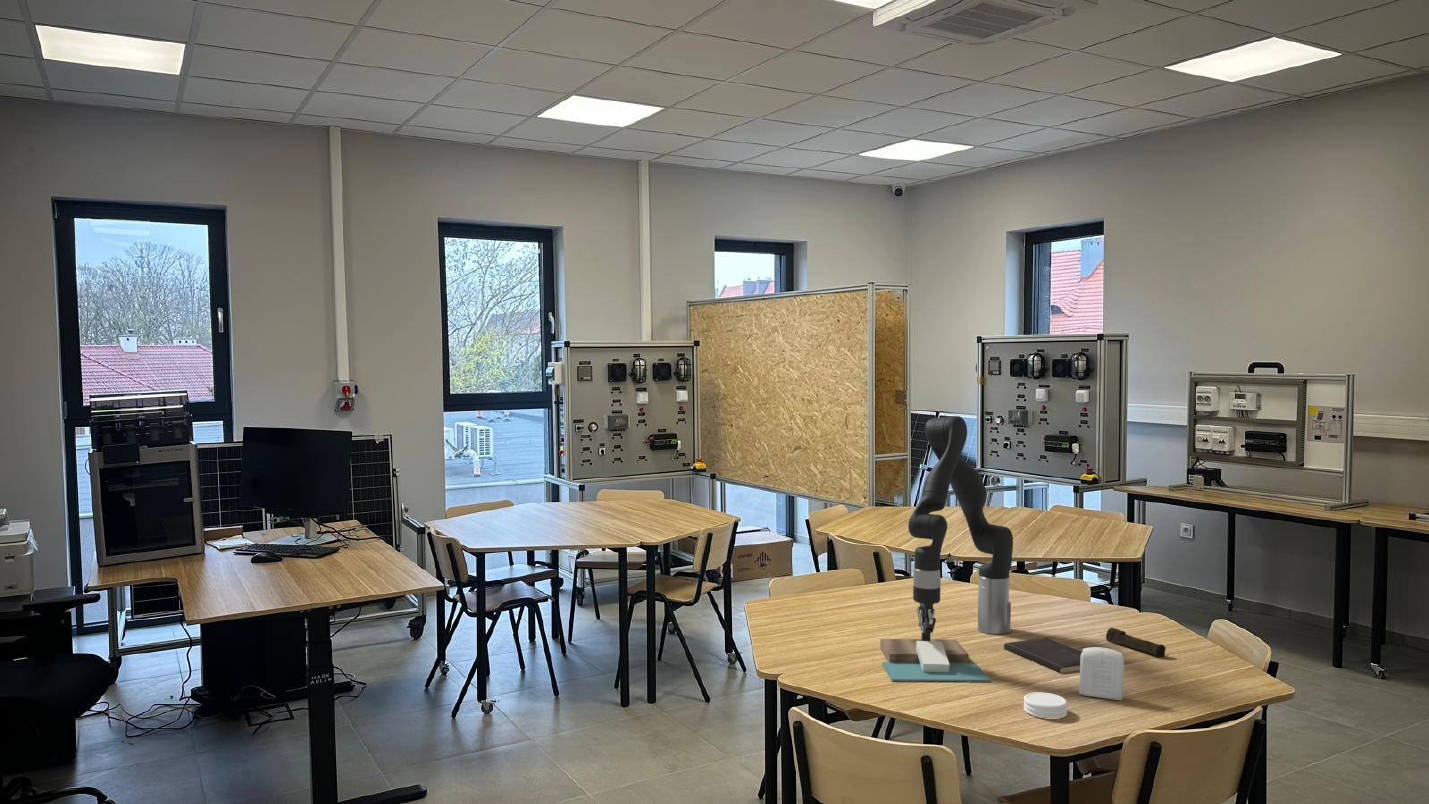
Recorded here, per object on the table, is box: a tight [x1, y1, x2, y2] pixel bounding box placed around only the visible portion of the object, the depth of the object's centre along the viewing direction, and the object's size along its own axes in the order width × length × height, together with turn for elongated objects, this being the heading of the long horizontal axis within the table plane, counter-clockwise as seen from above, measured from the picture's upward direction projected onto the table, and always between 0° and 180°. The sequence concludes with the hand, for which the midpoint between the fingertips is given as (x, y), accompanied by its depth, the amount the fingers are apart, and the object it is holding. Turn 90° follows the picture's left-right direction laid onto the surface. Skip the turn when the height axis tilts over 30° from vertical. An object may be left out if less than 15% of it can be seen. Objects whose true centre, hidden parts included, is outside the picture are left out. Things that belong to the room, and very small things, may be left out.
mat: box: [881, 661, 991, 683], centre depth 253 cm, size 26×14×1 cm, turn 90°
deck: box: [879, 638, 970, 663], centre depth 267 cm, size 22×14×3 cm, turn 90°
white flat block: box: [916, 641, 950, 672], centre depth 256 cm, size 7×11×2 cm, turn 178°
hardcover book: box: [1003, 637, 1083, 674], centre depth 267 cm, size 16×23×2 cm
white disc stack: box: [1023, 691, 1069, 719], centre depth 225 cm, size 10×10×4 cm
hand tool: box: [1105, 627, 1166, 659], centre depth 276 cm, size 19×4×5 cm, turn 26°
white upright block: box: [1078, 646, 1125, 701], centre depth 235 cm, size 10×4×12 cm, turn 69°
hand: (925, 645), depth 263 cm, fingers closed
